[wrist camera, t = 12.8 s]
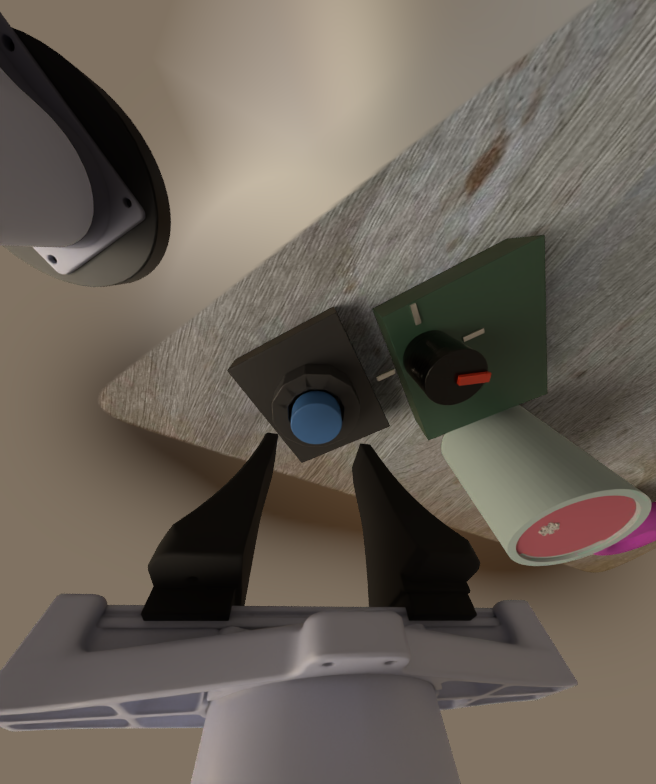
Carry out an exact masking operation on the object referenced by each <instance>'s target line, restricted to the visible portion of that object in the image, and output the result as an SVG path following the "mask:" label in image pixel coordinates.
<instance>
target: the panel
mask: <svg viewBox="0 0 656 784" xmlns="http://www.w3.org/2000/svg"><path fill="white" fill-rule="evenodd" d="M372 310H373V312H374V315H375V318H376V320H377V323H378V325H379V328H380V330H381V333H382V335H383V338H384V341H385V343H386V346H387V348H388V351H389V353H390V356H391V359H392V361H393V364H394V366H395V369H396V371H397V374H398V376H399V379H400V382H401V384H402V387H403V389H404V392H405V394H406V397H407V399H408V402H409V405H410V407H411V410H412V412H413V415H414V417H415V420H416V422H417V423H418V425H419V426H420V428H421V429H422V431H423V433H424V434H425V436H426V437H427V439H428V440H430V439H433V438H436V437H438V436H441V435H443V434H446V433H448V432H451V431H453V430H456V429H458V428H461V427H464V426H466V425H469V424H471V423H474V422H476V421H479V420H481V419H484V418H486V417H489V416H492V415H494V414H497V413H499V412H502V411H504V410H507V409H509V408H512V407H514V406H517V405H520V404H522V403H525V402H527V401H530V400H532V399H535V398H537V397H540V396H542V395H545V394H547V338H546V281H545V235H540V236H530V237H520V238H510V239H506V240H504V241H502V242H500V243H498V244H496V245H494V246H492V247H490V248H488V249H486V250H485V251H483V252H481V253H479V254H477V255H475V256H473V257H471V258H469V259H467V260H465V261H463V262H461V263H460V264H458V265H456V266H454V267H452V268H450V269H448V270H446V271H444V272H442V273H440V274H438V275H436V276H435V277H433V278H431V279H429V280H427V281H425V282H423V283H421V284H419V285H417V286H415V287H413V288H411V289H410V290H408V291H406V292H404V293H402V294H400V295H398V296H396V297H394V298H392V299H390V300H388V301H386V302H385V303H383V304H381V305H379V306H377V307H375V308H373V309H372ZM434 330H435V331H441V332H444V333H446V334H447V335H449V336H451V337H453V338H455V339H456V340H458V341H460V342H462V343H463V344H465V345H467V346H469V347H470V348H472V349H474V350H476V351H478V352H479V353H481V354H482V355H483V356H484V357H485V359H486V361H487V364H488V371H489V372H490V373H491V378H490V381H489V382H485V383H484V384H483V386H482V387H481V389H480V390H479V391H478V392H477V393H476V394H475V395H474V396H472V397H471V398H469V399H468V400H466V401H464V402H462V403H459V404H456V405H448V406H447V405H440V404H437V403H434V402H433V401H431V400H430V399H429V398H428V397H427V395H426V394H425V393H424V392H423V391H422V389H421V388H420V387H419V386H418V385H417V383H416V382H415V381H414V380H413V379H412V377H411V376H410V375H409V374H408V373H407V371H406V370H405V368H404V365H403V356H404V352H405V349H406V348H407V346H408V344H409V343H410V342H411V341H412V340H413V339H414V338H415V337H416V336H418V335H420V334H422V333H424V332H427V331H434ZM395 373H396V372H395V370H394V369H392V370H390V371H387V372H385V373H383V374H381V375H379V376H377V377H376V378H377V380H378V381H380V380H382V379H384V378H387V377H389V376H391V375H393V374H395Z"/></svg>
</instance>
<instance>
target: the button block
mask: <svg viewBox="0 0 656 784" xmlns="http://www.w3.org/2000/svg"><path fill="white" fill-rule="evenodd" d="M227 371H228V372H229V373H230V375H231V376H232V377H233V378H234V380H235V381H236V382H237V383H238V385H239V386H240V387H241V388H242V390H243V391H244V392H245V393H246V394H247V396H248V397H249V398H250V399H251V401H252V402H253V403H254V404H255V406H256V407H257V408H258V409H259V411H260V412H261V413H262V414H263V416H264V417H265V418H266V419H267V420H268V422H269V423H270V424H271V425H272V427H273V428H274V429H275V430H276V432H277V433H278V434H279V435H280V437H281V438H282V439H283V440H284V441H285V443H286V444H287V445H288V446H289V448H290V449H291V450H292V451H293V453H294V454H295V455H296V456H297V458H298V459H299V460H300V461H301V462H302V463H303V462H305V461H308V460H310V459H312V458H315V457H317V456H320V455H322V454H324V453H327V452H329V451H332V450H334V449H336V448H339V447H341V446H344V445H346V444H348V443H351V442H353V441H356V440H358V439H360V438H363V437H365V436H368V435H370V434H372V433H375V432H377V431H380V430H382V429H384V428H387V427H389V426H390V425H389V423H388V421H387V418H386V416H385V414H384V412H383V410H382V408H381V406H380V403H379V401H378V399H377V397H376V395H375V393H374V391H373V389H372V386H371V384H370V382H369V380H368V378H367V376H366V374H365V372H364V369H363V367H362V365H361V363H360V361H359V359H358V357H357V355H356V352H355V350H354V348H353V346H352V344H351V342H350V340H349V338H348V335H347V333H346V331H345V329H344V327H343V325H342V323H341V321H340V318H339V316H338V314H337V312H336V310H335V308H334V307H332V308H330V309H328V310H326V311H324V312H323V313H321V314H319V315H317V316H315V317H313V318H311V319H310V320H308V321H306V322H304V323H302V324H300V325H298V326H297V327H295V328H293V329H291V330H289V331H287V332H285V333H284V334H282V335H280V336H278V337H276V338H274V339H272V340H271V341H269V342H267V343H265V344H263V345H261V346H260V347H258V348H256V349H254V350H252V351H250V352H248V353H247V354H245V355H243V356H241V357H239V358H237V359H236V360H235V361H234V362H233V364H232V365H231V366H230V367H229V369H228V370H227ZM310 391H323V392H326V393H328V394H330V395H332V396H333V397H334V398H335V399H336V400H337V402H338V404H339V406H340V412H341V417H342V428H341V430H340V432H339V434H338V435H337V436H336V437H335V438H334V439H332V440H331V441H329V442H326V443H323V444H309V443H306V442H303V441H301V440H300V439H298V438H297V437H296V436H295V435H294V433H293V431H292V429H291V415H292V408H293V405H294V403H295V401H296V400H297V399H298V398H299V397H300V396H301V395H303V394H304V393H307V392H310Z"/></svg>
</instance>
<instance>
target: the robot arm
mask: <svg viewBox="0 0 656 784" xmlns="http://www.w3.org/2000/svg"><path fill="white" fill-rule="evenodd" d="M11 41H13V43H14V47H15V49H14V51H12V50H11V46H10V43H11ZM128 199H129V200H130V201H131V203H132V206H131V207H129V206H128V205H127V200H128ZM144 219H145V211H144V209H143V208H142V206H141V205H140V204H139V202H138V201H137V199H136V198H135V197H134V195H133V194H132V193H131V191H130V190H129V188H128V187H127V186H126V184H125V183H124V182H123V180H122V179H121V177H120V176H119V175H118V173H117V172H116V171H115V169H114V168H113V166H112V165H111V164H110V162H109V161H108V160H107V158H106V157H105V155H104V154H103V153H102V151H101V150H100V148H99V147H98V146H97V144H96V143H95V142H94V140H93V139H92V137H91V136H90V135H89V133H88V132H87V131H86V129H85V128H84V126H83V125H82V124H81V122H80V121H79V120H78V118H77V117H76V115H75V114H74V113H73V111H72V110H71V109H70V107H69V106H68V104H67V103H66V102H65V100H64V99H63V98H62V96H61V95H60V93H59V92H58V91H57V89H56V88H55V86H54V85H53V84H52V82H51V81H50V80H49V78H48V77H47V75H46V74H45V73H44V71H43V70H42V69H41V67H40V66H39V64H38V63H37V62H36V60H35V59H34V58H33V56H32V55H31V53H30V52H29V51H28V49H27V48H26V47H25V45H24V44H23V42H22V41H21V40H20V38H19V37H18V36H17V34H16V33H15V31H14V30H13V29H12V27H11V26H10V24H9V23H8V22H7V20H6V19H5V18H4V16H3V15H2V13H1V12H0V245H11V246H32V247H33V248H34V249H35V250H36V251H37V252H38V253H39V254H40V255H41V256H42V257H43V258H44V259H45V260H46V261H47V262H48V263H49V264H50V265H51V266H52V267H53V268H54V269H55V270H56V271H57V272H58V273H60V274H64V275H66V274H71V273H72V272H74V271H75V270H76V269H78V268H79V267H81V266H82V265H83V264H85V263H86V262H87V261H89V260H90V259H91V258H93V257H94V256H96V255H97V254H98V253H100V252H101V251H102V250H104V249H105V248H107V247H108V246H109V245H111V244H112V243H113V242H115V241H116V240H117V239H119V238H120V237H122V236H123V235H124V234H126V233H127V232H128V231H130V230H131V229H133V228H134V227H135V226H137V225H138V224H139V223H141V222H142V221H143V220H144ZM53 257H55V258H56V259H57V262H56V261H55V260H54V258H53ZM277 439H278V434H273V433H266V434H265V436H264V438H263V440H262V441H261V443H260V445H259V446H258V448H257V449H256V450H255V452H254V453H253V454H252V456H251V457H250V458H249V460H248V461H247V462H246V463H245V464H244V466H243V467H242V468H241V469H240V470H239V471H238V472H237V474H236V475H235V476H234V477H233V478H232V479H231V480H230V481H229V482H228V483H227V484H226V485H224V486H223V487H222V488H221V489H220V490H219V491H218V492H217V493H215V494H214V495H213V496H212V497H211V498H209V499H208V500H207V501H206V502H204V503H203V504H202V505H201V506H199V507H198V508H197V509H195V510H194V511H192V512H191V513H190V514H188V515H186V516H185V517H184V518H182V519H181V520H179V521H178V522H176V523H175V524H173V525H172V527H171V528H170V529H169V531H168V532H167V534H166V535H165V536H164V538H163V539H162V541H161V542H160V544H159V546H158V547H157V549H156V551H155V553H154V555H153V557H152V559H151V561H150V562H149V564H148V571H149V574H150V577H151V580H152V583H153V586H154V587H153V589H152V591H151V593H150V596H149V597H148V600H147V602H146V604H145V605H107V601H106V599H105V598H104V597H103V596H100V595H96V594H60V595H58V596H57V597H56V598H55V599H54V601H53V602H52V603H51V605H50V606H49V607H48V609H47V610H46V611H45V613H44V614H43V615H42V616H41V618H40V619H39V621H38V622H37V623H36V624H35V626H34V627H33V628H32V630H31V631H30V632H29V634H28V635H27V636H26V638H25V639H24V640H23V642H22V643H21V644H20V646H19V647H18V648H17V650H16V651H15V652H14V654H13V655H12V656H11V658H10V659H9V660H8V661H7V663H6V664H5V665H4V667H3V668H2V670H1V671H0V727H1V728H4V729H7V730H10V731H32V730H53V729H82V728H83V729H89V728H203V733H202V737H201V741H200V745H199V750H198V754H197V758H196V763H195V767H194V771H193V776H192V780H191V784H461V783H460V779H459V776H458V772H457V769H456V765H455V762H454V758H453V755H452V751H451V747H450V744H449V740H448V737H447V733H446V730H445V726H444V723H443V719H442V716H441V713H440V710H447V709H454V708H463V707H471V706H479V705H488V704H496V703H506V702H517V701H530V700H538V699H541V698H544V697H547V696H549V695H552V694H555V693H557V692H560V691H563V690H566V689H568V688H571V687H574V686H576V685H577V684H578V683H577V680H576V679H575V677H574V675H573V674H572V672H571V671H570V669H569V667H568V666H567V664H566V663H565V661H564V660H563V658H562V656H561V655H560V653H559V652H558V650H557V648H556V647H555V645H554V643H553V642H552V640H551V639H550V637H549V635H548V634H547V632H546V631H545V629H544V627H543V626H542V624H541V623H540V621H539V620H538V618H537V616H536V615H535V613H534V611H533V610H532V608H531V607H530V605H529V603H528V602H527V601H525V600H503V601H500V602H498V603H497V604H495V605H494V607H493V608H474V606H473V604H472V602H471V600H470V598H469V596H468V593H470V589H469V586H468V584H467V581H468V580H469V579H470V578H471V577H472V576H473V575H474V574H475V573H476V572H477V570H478V569H479V566H480V561H479V559H478V557H477V555H476V554H475V552H474V550H473V548H472V546H471V545H470V543H469V541H468V540H467V539H465V538H464V537H462V536H461V535H459V534H458V533H456V532H455V531H454V530H452V529H451V528H449V527H448V526H446V525H445V524H444V523H443V522H441V521H440V520H439V519H437V518H436V517H435V516H434V515H432V514H431V513H430V512H429V511H428V510H427V509H425V508H424V507H423V506H422V505H421V504H420V503H419V502H418V501H416V500H415V499H414V498H413V497H412V496H411V495H410V494H409V493H408V492H407V491H406V490H405V488H404V487H403V486H402V485H401V484H400V483H399V482H398V481H397V479H396V478H395V477H394V476H393V475H392V473H391V472H390V471H389V470H388V468H387V467H386V466H385V464H384V463H383V462H382V460H381V459H380V458H379V456H378V455H377V454H376V452H375V451H374V449H373V448H372V447H371V445H368V444H360V446H359V449H358V452H357V455H356V458H355V461H354V463H353V466H352V472H353V483H354V488H355V493H356V498H357V503H358V507H359V512H360V517H361V521H362V528H363V536H364V545H365V555H366V565H367V566H366V567H367V580H368V597H369V607H297V606H294V607H293V606H291V607H289V606H288V607H287V606H244V604H245V600H246V594H247V588H248V583H249V577H250V572H251V566H252V560H253V555H254V549H255V544H256V539H257V533H258V528H259V523H260V518H261V514H262V510H263V507H264V503H265V500H266V496H267V493H268V489H269V485H270V482H271V478H272V473H273V468H274V462H275V455H276V447H277Z"/></svg>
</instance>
